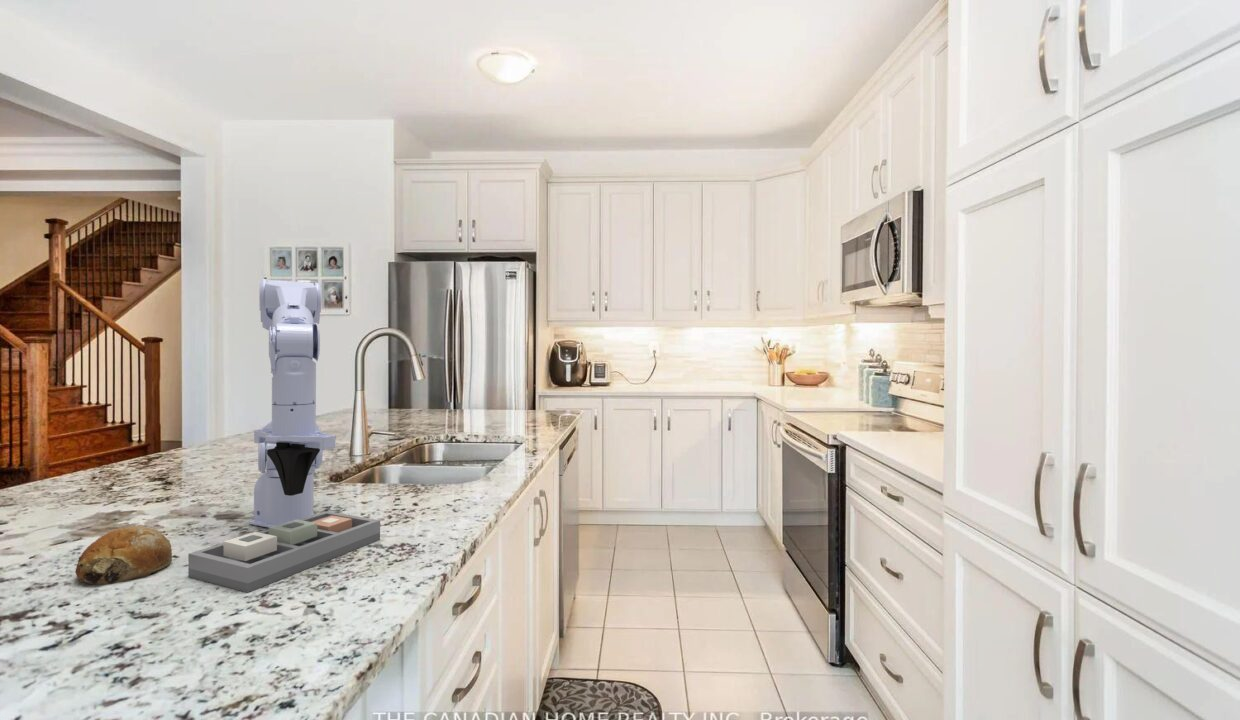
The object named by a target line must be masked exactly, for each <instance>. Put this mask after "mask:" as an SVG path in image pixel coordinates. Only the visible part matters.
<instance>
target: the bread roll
mask: <svg viewBox="0 0 1240 720" xmlns="http://www.w3.org/2000/svg"><path fill="white" fill-rule="evenodd" d="M172 561H173V551H172V544H171V541H170V539H168V538H167V537H166V536H165V535H164V534H163V533H162V532H160V531H159V530H157V529H155V528H152V527H150V526H149V527H148V526H143V525H131V526H130V525H129V526H125V527H118V528H116V529H114V530H111V531H109V532H107V533H105V534H104V535H101V536H100V537H98V538H97V539H96V540H95V541H93V542H92V543H91V544H90V545H89V546H87V547H86V548H85V550H84V551H83V552H82V553H81V555H80V556H78V562H77V564H76V568H75V574H76V578H77V579H78V580H79V581H80V582H81V583H84V584H89V585H98V586H99V585H109V584H115V583H122V582H127V581H131V580H136V579H139V578H143V577H147V576H149V575H151V574H154V573H155V572H156V573H157V572H159V571H161V570H163V569H165V568H166V567H168V565H170V564H171V562H172Z"/></svg>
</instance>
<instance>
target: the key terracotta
mask: <svg viewBox="0 0 1240 720" xmlns="http://www.w3.org/2000/svg"><path fill="white" fill-rule="evenodd" d="M313 523H317V529H321V530H326V531H331V532H337V533H339V532H342V531H345V530H347V529H350V528H352V519H350V518H344V517H338V516H333V515H332V516H328V517H325V518H322V519H319V520H316V521H313Z"/></svg>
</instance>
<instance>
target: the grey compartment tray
mask: <svg viewBox="0 0 1240 720" xmlns="http://www.w3.org/2000/svg"><path fill="white" fill-rule="evenodd" d="M315 514H316V515H313V516H310V517H306V518H303V519H300V520H302V521H308V522H313V521H316V520H319V519H322V518H325V517H328V516H332V515H333V516H338V517H344V518H350V519H352V528H350V529H347V530H345V531H342V532H339V533H337V532H331V531H326V530H321V529H317V536H316V537H314V538H311V539H308V540H305V541H302V542H299V543H296V544H293V545H291V544H286V543H281V542H277V550H276V551H273V552H270V553H268V554H265V555H262V556H259V557H256V558H253V559H250V560H247V561H243V560H239V559H234V558H230V557H226V556H224V542H221V543H219V544H215V545H212V546H209V547H204V548H202V549H199V550H195V551H191V552H189V553H188V555H187V556H188V557H187V558H188V560H187V562H188V563H187V564H188V566H187V567H188V568H187V569H188V570H187V571H188V574H187V577H188V578H191V579H195V580H199V581H203V582H207V583H210V584H214V585H217V586H221V587H224V588H229V589H232V590H237V591H240V592H243V593H251V592H253V591H255V590H257V589H260V588H262V587H265V586H267V585H271V584H273V583H275V582H277V581H280V580H283V579H285V578H287V577H290V576H292V575H296V574H298V573H301V572H302V571H305V570H308V569H310V568H312V567H316V566H317V565H320V564H322V563H326V562H327V561H330V560H333V559H335V558H337V557H340V556H342V555H345V554H348V553H350V552H352V551H355V550H358V549H360V548H362V547H365V546H368V545H370V544H373V543H375V542H377V541H381V520H380V519H375V518H369V517H365V516H357V515H352V514H346V513H342V512H341V513H340V512H336V511H335V512H334V511H329V510H328V511H327V510H326V511H323V512H319V513H315ZM258 532H259V533H264V534H269V528H267V529H264V530H261V531H258Z"/></svg>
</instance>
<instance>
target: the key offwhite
mask: <svg viewBox="0 0 1240 720" xmlns="http://www.w3.org/2000/svg"><path fill="white" fill-rule="evenodd" d="M259 532H260V531H254V532H250V533H247V534H244V535H240V536H238V537H235V538H231V539H227V540H224V541H223V543H224V556H226V557H230V558H234V559H239V560H243V561H247V560H250V559H253V558H256V557H259V556H262V555H265V554H268V553H270V552H273V551H276V550H277V536H274V535H269V534H264V533H259Z"/></svg>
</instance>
